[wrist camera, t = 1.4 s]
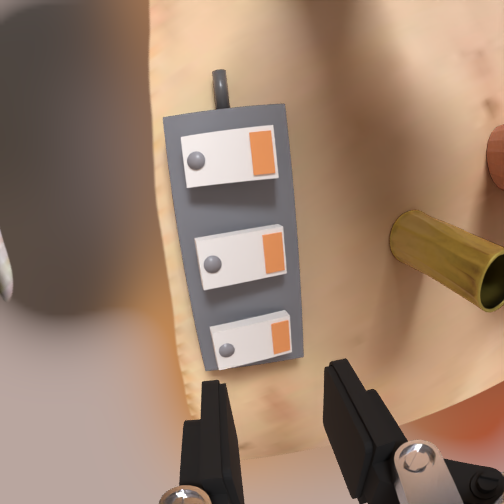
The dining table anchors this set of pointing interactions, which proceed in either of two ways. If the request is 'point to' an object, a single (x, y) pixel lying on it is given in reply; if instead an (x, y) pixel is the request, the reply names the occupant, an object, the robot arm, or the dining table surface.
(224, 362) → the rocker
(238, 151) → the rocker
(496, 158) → the potted plant
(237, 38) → the dining table surface
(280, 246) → the rocker mid
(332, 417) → the robot arm
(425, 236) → the vase
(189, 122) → the power strip
